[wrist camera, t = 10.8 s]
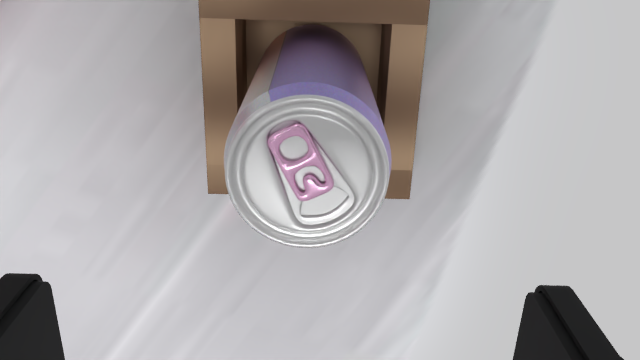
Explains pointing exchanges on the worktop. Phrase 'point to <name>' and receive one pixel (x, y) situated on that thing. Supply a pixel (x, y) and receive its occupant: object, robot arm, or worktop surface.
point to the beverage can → (308, 142)
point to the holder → (336, 13)
